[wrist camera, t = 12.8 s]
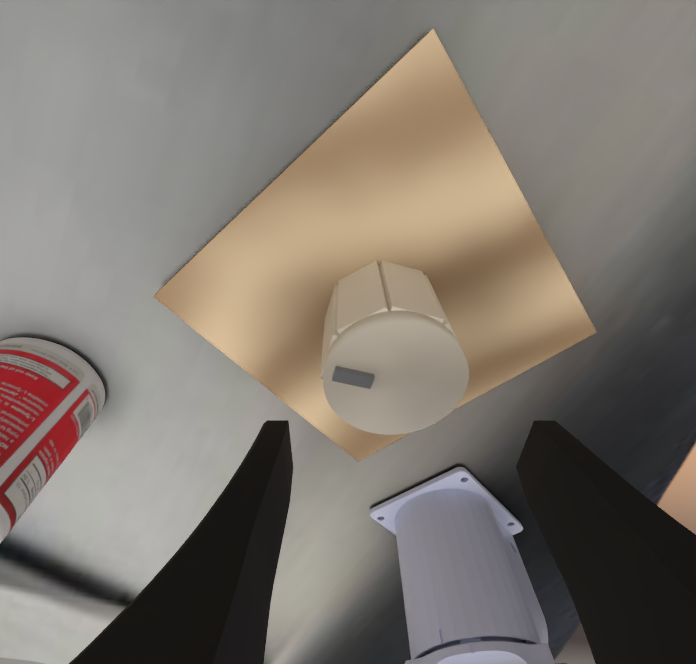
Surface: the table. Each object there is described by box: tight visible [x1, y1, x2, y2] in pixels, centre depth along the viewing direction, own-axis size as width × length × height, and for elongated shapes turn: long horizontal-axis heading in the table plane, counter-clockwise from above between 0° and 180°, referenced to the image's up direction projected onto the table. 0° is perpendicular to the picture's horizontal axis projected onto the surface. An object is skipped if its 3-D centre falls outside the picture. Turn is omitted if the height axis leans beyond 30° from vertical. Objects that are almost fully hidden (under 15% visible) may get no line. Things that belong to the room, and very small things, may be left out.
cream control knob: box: [320, 260, 469, 435], centre depth 15 cm, size 5×5×5 cm
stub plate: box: [153, 29, 596, 461], centre depth 18 cm, size 15×15×1 cm
